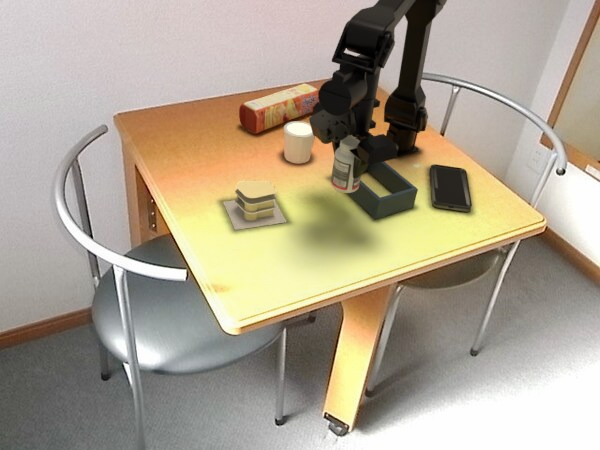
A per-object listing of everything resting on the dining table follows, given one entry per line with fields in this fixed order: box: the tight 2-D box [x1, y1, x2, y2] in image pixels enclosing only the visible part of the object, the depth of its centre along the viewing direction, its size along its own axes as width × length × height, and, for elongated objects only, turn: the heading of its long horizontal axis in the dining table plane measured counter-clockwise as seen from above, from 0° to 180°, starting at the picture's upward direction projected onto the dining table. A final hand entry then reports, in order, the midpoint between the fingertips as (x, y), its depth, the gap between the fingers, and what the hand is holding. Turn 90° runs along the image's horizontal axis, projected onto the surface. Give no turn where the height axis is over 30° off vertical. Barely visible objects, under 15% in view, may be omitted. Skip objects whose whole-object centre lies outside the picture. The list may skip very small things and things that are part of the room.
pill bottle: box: [330, 135, 362, 194], centre depth 113 cm, size 5×5×10 cm
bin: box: [330, 161, 419, 220], centre depth 125 cm, size 10×16×4 cm, turn 32°
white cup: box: [283, 120, 316, 165], centre depth 133 cm, size 7×7×7 cm
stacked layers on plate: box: [222, 179, 287, 231], centre depth 116 cm, size 10×9×6 cm
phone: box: [429, 163, 473, 213], centre depth 129 cm, size 8×1×15 cm
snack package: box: [238, 83, 319, 134], centre depth 146 cm, size 21×7×7 cm, turn 134°
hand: (346, 170), depth 114 cm, fingers closed on pill bottle, 5 cm apart
